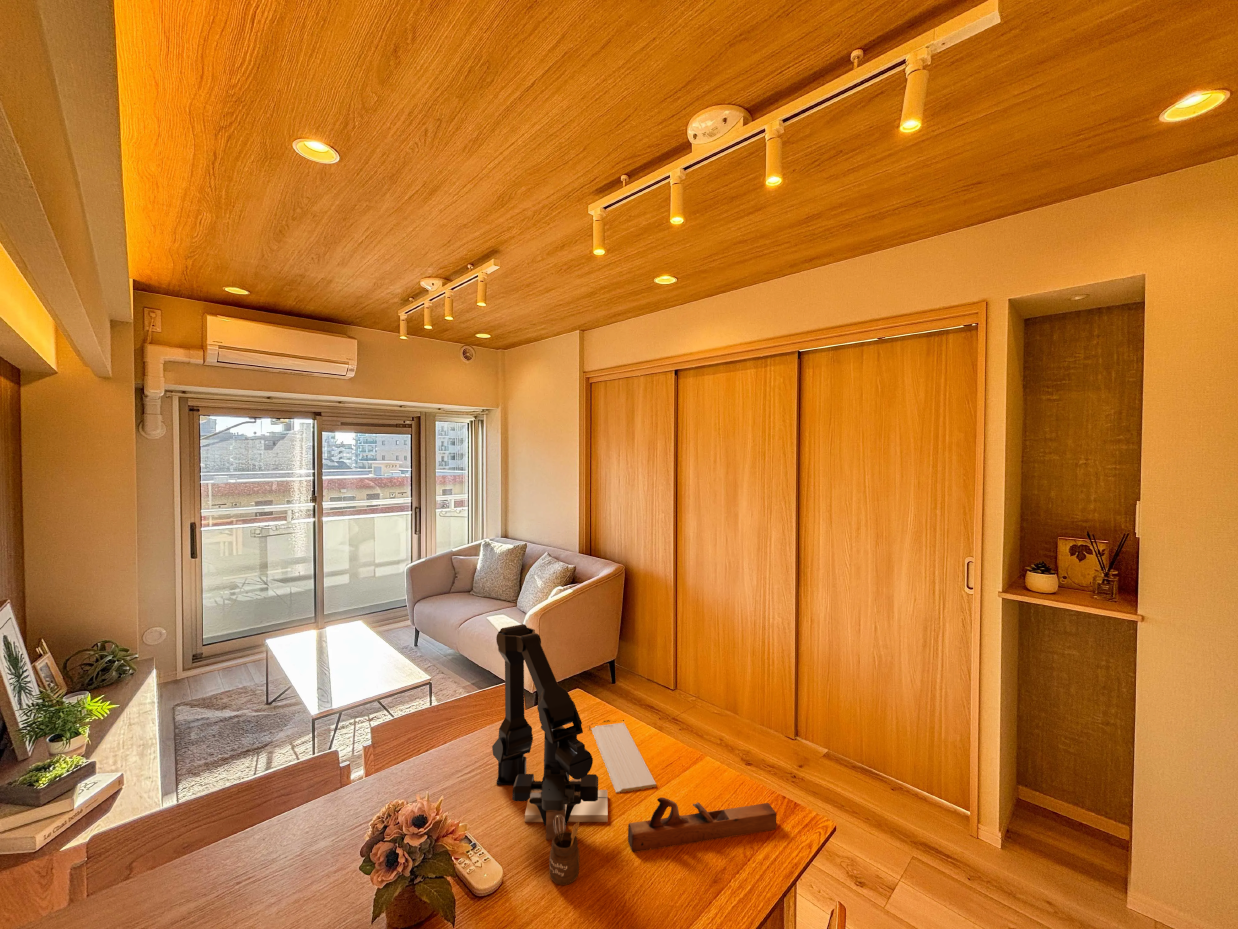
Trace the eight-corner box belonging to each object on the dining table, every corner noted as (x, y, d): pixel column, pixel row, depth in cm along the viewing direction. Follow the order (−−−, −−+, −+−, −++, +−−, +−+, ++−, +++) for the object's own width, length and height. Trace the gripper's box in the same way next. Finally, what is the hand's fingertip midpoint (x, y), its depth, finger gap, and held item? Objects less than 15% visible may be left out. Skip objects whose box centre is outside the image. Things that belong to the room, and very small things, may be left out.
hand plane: (634, 859, 109) (635, 812, 109) (626, 841, 114) (627, 796, 114) (777, 830, 119) (778, 787, 118) (764, 815, 124) (765, 773, 124)
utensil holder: (564, 858, 109) (565, 801, 109) (586, 874, 105) (587, 815, 105) (543, 875, 104) (544, 816, 104) (565, 892, 100) (566, 831, 100)
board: (524, 822, 119) (524, 815, 119) (530, 796, 128) (530, 789, 128) (607, 822, 120) (607, 814, 120) (607, 796, 129) (607, 789, 129)
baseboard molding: (610, 796, 130) (656, 790, 133) (610, 785, 130) (656, 778, 133) (586, 731, 160) (623, 727, 163) (586, 722, 160) (624, 718, 163)
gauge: (545, 839, 114) (546, 812, 114) (549, 800, 127) (550, 776, 127) (564, 839, 114) (564, 812, 114) (566, 799, 127) (566, 775, 127)
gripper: (508, 777, 108) (507, 852, 108) (598, 778, 108) (596, 852, 109) (517, 747, 119) (516, 815, 119) (598, 748, 120) (597, 815, 120)
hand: (555, 824), depth 117 cm, fingers closed on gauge, 4 cm apart
